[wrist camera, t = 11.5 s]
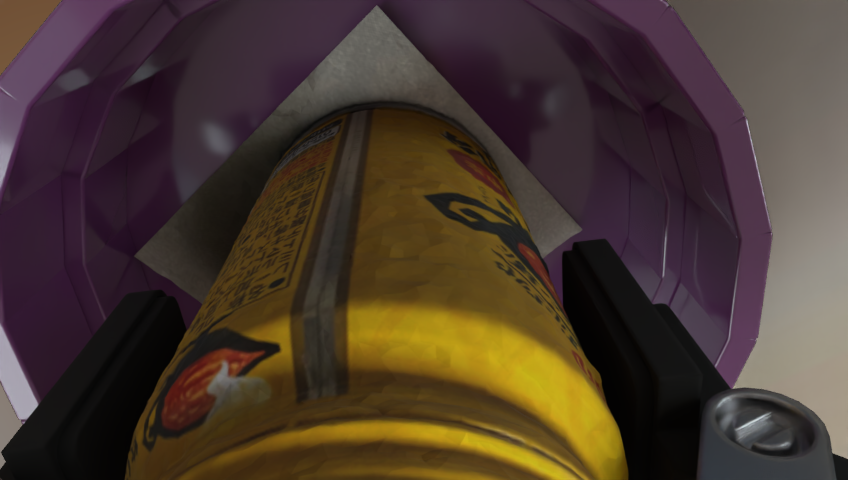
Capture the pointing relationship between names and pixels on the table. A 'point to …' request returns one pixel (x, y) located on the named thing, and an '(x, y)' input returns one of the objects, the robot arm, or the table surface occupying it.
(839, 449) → the table surface
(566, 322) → the condiment
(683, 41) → the plum bowl
